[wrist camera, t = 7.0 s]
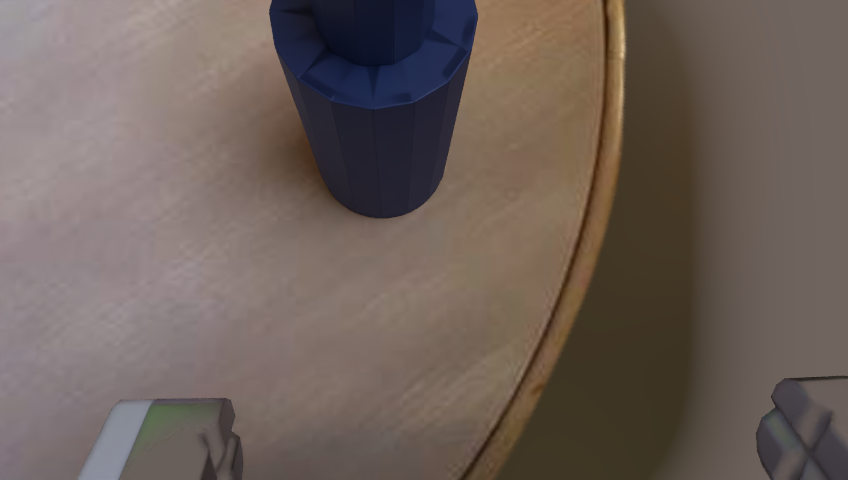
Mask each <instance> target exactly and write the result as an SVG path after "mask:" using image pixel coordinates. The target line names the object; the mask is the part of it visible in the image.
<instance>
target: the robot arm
mask: <svg viewBox="0 0 848 480" xmlns="http://www.w3.org/2000/svg"><path fill="white" fill-rule="evenodd" d="M771 398H772V400H773V402H774V404H775V406H776V407H775V408H774V409H773V410H771V411H770V412H769V413H767V414H766V415H765V416H763V417H762V419H761V421H760V424H759V427H758V429H757V432H756V440H757V452H758V455H759V458H760V461H761V463H762V466H763V468H764V469H765V471H766V473H767V474H768V476H769V478H770V479H771V480H848V376H828V377H806V378H785V379H783V380H782V381H781V382H779V383H778V384H777V385H776V386H775V389H774V391H773V393H772V395H771ZM234 418H235V414H234V410H233V406H232V402H231V400H230V399H227V398H192V399H154V400H120V401H119V402H118V403H117V404H116V405H115V406H114V407H113V408H112V409H111V411H110V413H109V415H108V417H107V419H106V421H105V423H104V425H103V427H102V429H101V431H100V433H99V435H98V437H97V439H96V441H95V443H94V445H93V447H92V449H91V451H90V453H89V455H88V457H87V459H86V461H85V463H84V465H83V467H82V469H81V471H80V473H79V475H78V477H77V479H76V480H242V472H243V454H242V446H241V441H240V437H239V436H238V435H236V434H235V433H234V432H232V431H231V430H232V426H233V422H234Z"/></svg>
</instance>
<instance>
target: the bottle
mask: <svg viewBox="0 0 848 480" xmlns="http://www.w3.org/2000/svg"><path fill="white" fill-rule="evenodd" d="M269 15H270V21H271V27H272V33H273V39H274V45H275V49H276V52H277V54H278V57H279V60H280V63H281V65H282V68H283V71H284V74H285V77H286V79H287V82H288V85H289V88H290V90H291V93H292V96H293V99H294V102H295V104H296V107H297V110H298V113H299V115H300V118H301V121H302V124H303V127H304V129H305V132H306V135H307V138H308V140H309V143H310V146H311V149H312V152H313V154H314V157H315V160H316V163H317V165H318V168H319V171H320V174H321V176H322V179H323V180H324V182H325V184H326V185H327V187H328V189H329V191H330V192H331V193H332V194H333V196H334V197H335V198H336V199H337V200H338V201H339V202H340V203H341V204H343V205H344V206H345V207H347V208H348V209H350V210H352V211H354V212H356V213H359V214H361V215H365V216H368V217H375V218H390V217H396V216H400V215H404V214H406V213H409V212H411V211H413V210H415V209H417V208H418V207H419V206H421V205H422V204H424V203H425V202H426V201H427V200H428V199H429V198H430V197H431V195H432V194H433V193H434V192H435V190H436V188H437V187H438V185H439V183H440V181H441V179H442V177H443V173H444V169H445V164H446V160H447V155H448V151H449V147H450V142H451V138H452V134H453V129H454V125H455V121H456V116H457V112H458V107H459V103H460V99H461V94H462V90H463V86H464V81H465V77H466V73H467V68H468V64H469V59H470V55H471V51H472V46H473V41H474V35H475V30H476V25H477V20H478V13H477V9H476V5H475V1H474V0H272V2H271V6H270V9H269Z"/></svg>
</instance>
